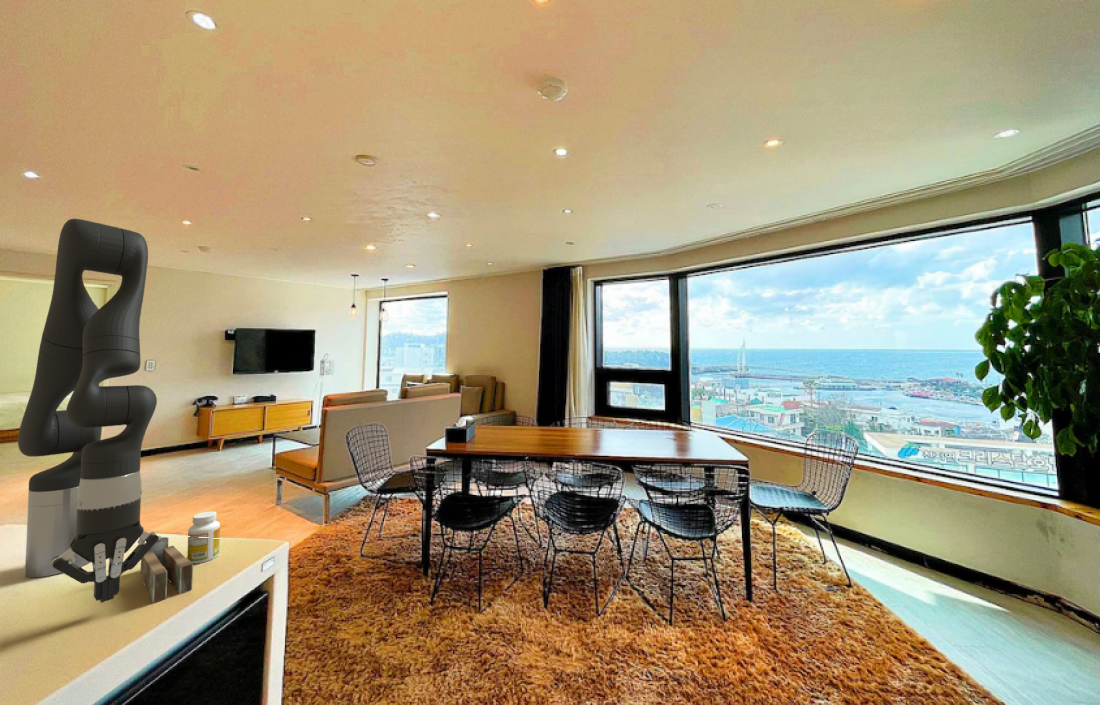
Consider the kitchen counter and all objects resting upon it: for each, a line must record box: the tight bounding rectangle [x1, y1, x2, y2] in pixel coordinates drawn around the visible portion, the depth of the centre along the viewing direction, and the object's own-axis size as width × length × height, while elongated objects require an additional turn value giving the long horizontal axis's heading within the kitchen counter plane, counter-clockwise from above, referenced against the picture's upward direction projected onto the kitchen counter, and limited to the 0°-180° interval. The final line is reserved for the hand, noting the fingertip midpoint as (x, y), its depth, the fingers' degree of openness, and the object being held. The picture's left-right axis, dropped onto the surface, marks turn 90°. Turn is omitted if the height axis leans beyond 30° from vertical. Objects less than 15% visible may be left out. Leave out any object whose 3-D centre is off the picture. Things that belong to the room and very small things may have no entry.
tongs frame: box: [140, 535, 194, 595], centre depth 79 cm, size 18×4×7 cm, turn 56°
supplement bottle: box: [186, 511, 221, 564], centre depth 88 cm, size 5×5×10 cm
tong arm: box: [140, 551, 168, 603], centre depth 76 cm, size 13×2×5 cm, turn 53°
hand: (106, 599), depth 69 cm, fingers closed
